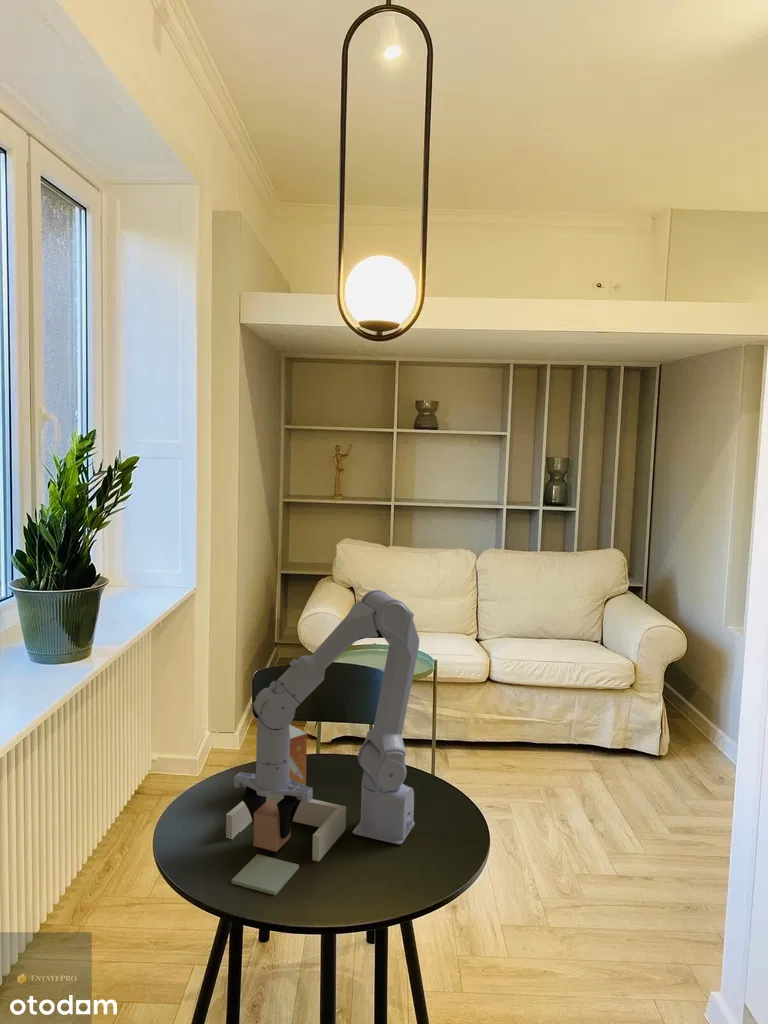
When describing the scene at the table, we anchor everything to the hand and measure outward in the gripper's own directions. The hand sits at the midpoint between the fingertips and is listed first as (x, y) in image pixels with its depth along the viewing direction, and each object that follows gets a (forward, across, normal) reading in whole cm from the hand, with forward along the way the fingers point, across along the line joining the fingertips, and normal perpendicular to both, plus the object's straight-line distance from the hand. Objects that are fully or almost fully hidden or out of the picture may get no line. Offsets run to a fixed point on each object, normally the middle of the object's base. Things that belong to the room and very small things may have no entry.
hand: (272, 832), depth 127 cm
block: (+2, 0, 0) cm, 2 cm away
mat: (+3, +3, -7) cm, 9 cm away
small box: (+3, -8, +18) cm, 20 cm away
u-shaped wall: (+3, 0, +5) cm, 5 cm away
